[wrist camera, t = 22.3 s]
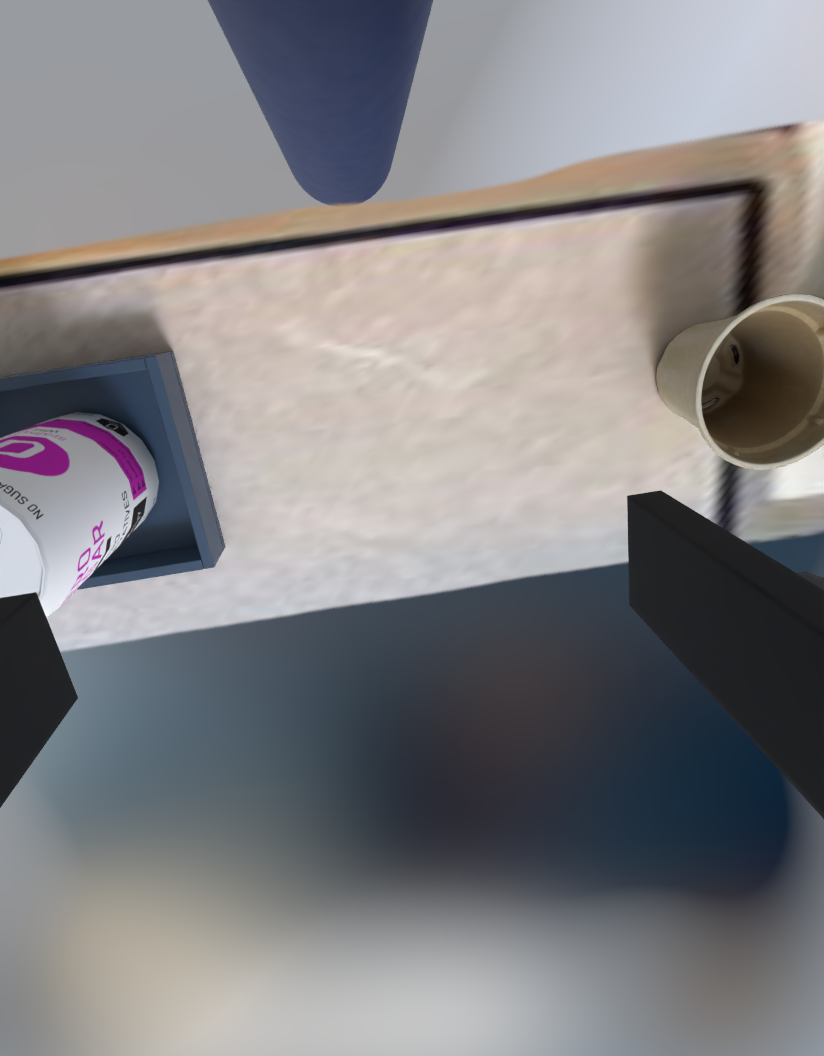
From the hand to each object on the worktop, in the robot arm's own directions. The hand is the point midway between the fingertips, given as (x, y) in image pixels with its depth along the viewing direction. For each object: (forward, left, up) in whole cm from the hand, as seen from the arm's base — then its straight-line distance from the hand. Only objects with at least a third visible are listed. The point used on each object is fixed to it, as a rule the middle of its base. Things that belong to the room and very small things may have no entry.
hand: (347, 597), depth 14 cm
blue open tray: (+13, -11, -29) cm, 34 cm away
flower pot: (-15, +18, -29) cm, 37 cm away
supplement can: (+13, -11, -28) cm, 33 cm away
